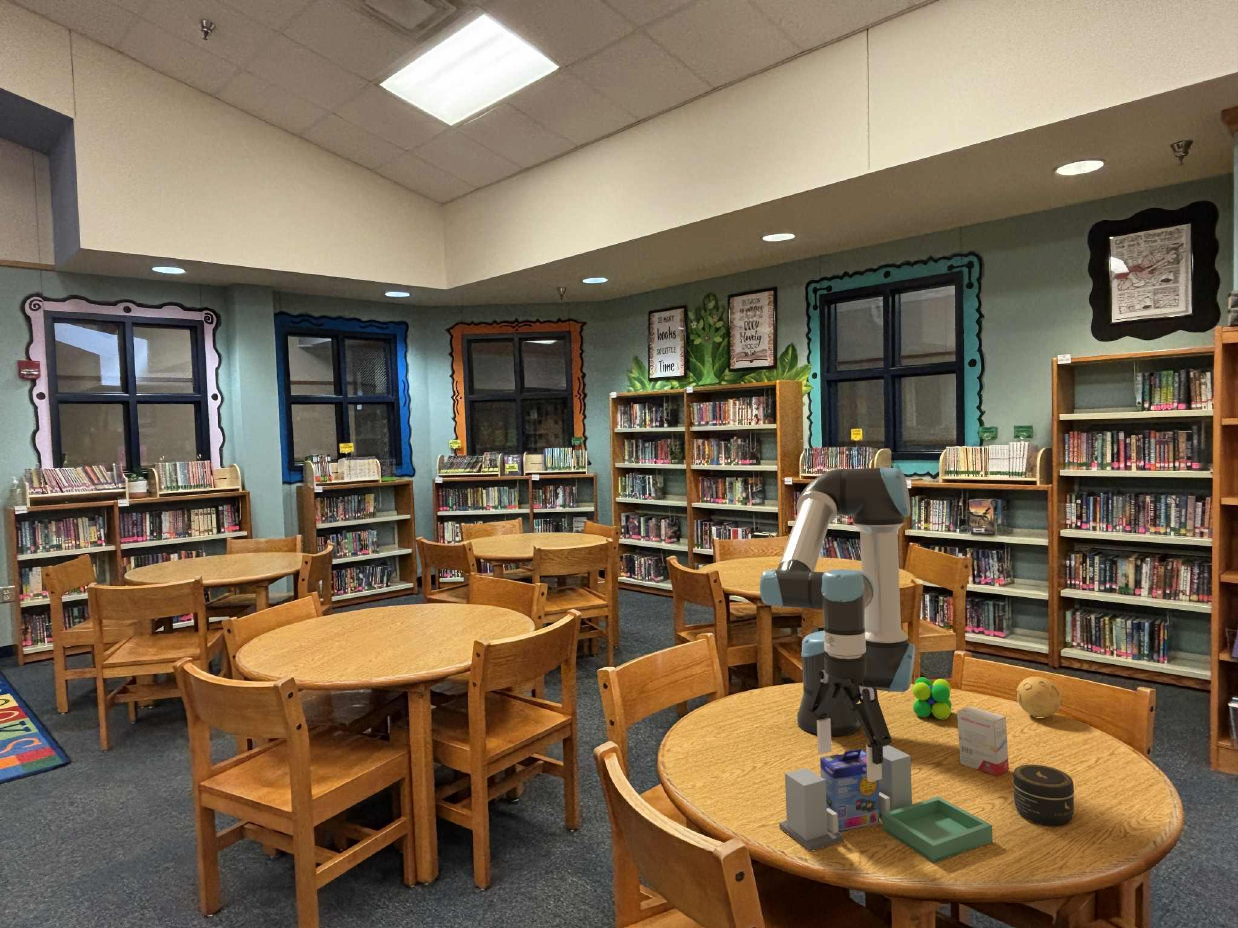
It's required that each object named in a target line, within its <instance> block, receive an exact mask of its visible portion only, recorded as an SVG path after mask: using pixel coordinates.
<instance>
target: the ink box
mask: <svg viewBox="0 0 1238 928" xmlns="http://www.w3.org/2000/svg"><path fill="white" fill-rule="evenodd" d="M956 716H957V730H958V746H959V762H960V765H963V766H966V767H969V768H972V769H975V770H977V771H981V772H984V773H987V774H991V775H993V776H995V777H999V776H1002V775H1004V774H1005V773H1006V772H1007V771H1009V770H1010V767H1009V766H1010V765H1009V753H1008V752H1009V749H1008V732H1007V730H1008V729H1007V717H1006V716H1005V715H1001V714H998V713H994V712H990V711H987V710H985V709H980V708H977V707H974V706H967V707H964V708H962V709H960V710H957V711H956Z"/></svg>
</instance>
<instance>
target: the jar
mask: <svg viewBox="0 0 1238 928" xmlns="http://www.w3.org/2000/svg"><path fill="white" fill-rule="evenodd" d="M1012 778H1013V779H1012V786H1013V802H1014V806H1015V809H1016V810H1017V812H1018V814H1019V815H1020V816H1021V817H1022V818H1024V819H1025V820H1027V821H1028V822H1032V823H1034V824H1036V825H1040V826H1044V827H1046V826H1047V827H1057V828H1058V827H1063V826H1066V825H1068V824H1069V823H1070V822H1071V821H1072V820H1073V818H1074V813H1075V800H1074V799H1075V798H1074V797H1075V796H1074V795H1075V787H1074V780H1073V778H1072V777H1071V776H1070V775H1069V774H1068V773H1066V772H1064V771H1063V770H1060V769H1057V768H1055V767H1052V766H1049V765H1048V766H1047V765H1044V764H1043V765H1041V764H1023V765H1019V766H1016V767H1015V768H1014V770H1013V772H1012Z"/></svg>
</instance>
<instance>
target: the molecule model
mask: <svg viewBox="0 0 1238 928" xmlns="http://www.w3.org/2000/svg"><path fill="white" fill-rule="evenodd" d="M951 691H952V687H951V684H950V683H949V682H948V680H945V679H943V678H938V679H936V680H934V682H933V683H932V681H931V680H930V679H929V678H927V677H922V676H921V677H918V678H917V679H916V680H915V681H914V683H913V686H912V694H913V696H914V697H915V698H914V703H913V707H912V708H913V712H914V713H915V715H917V716H918V717H919V718H927V717H929V716H930V715H931V714H932V715H933V716H934V717H935V719H938V720H940V721H941V720H943V721H944V720H947V719H948V718H950V715H951V710H952V702H951V700H950V698H951Z"/></svg>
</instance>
